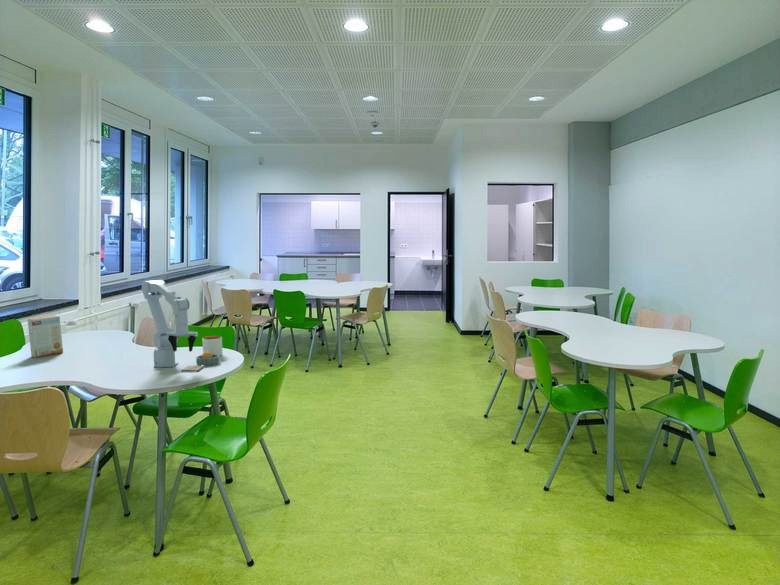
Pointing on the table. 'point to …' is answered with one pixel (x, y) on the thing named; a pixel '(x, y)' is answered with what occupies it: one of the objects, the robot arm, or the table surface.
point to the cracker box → (45, 336)
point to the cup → (212, 345)
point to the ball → (206, 355)
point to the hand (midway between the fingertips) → (183, 351)
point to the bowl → (207, 360)
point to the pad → (192, 368)
